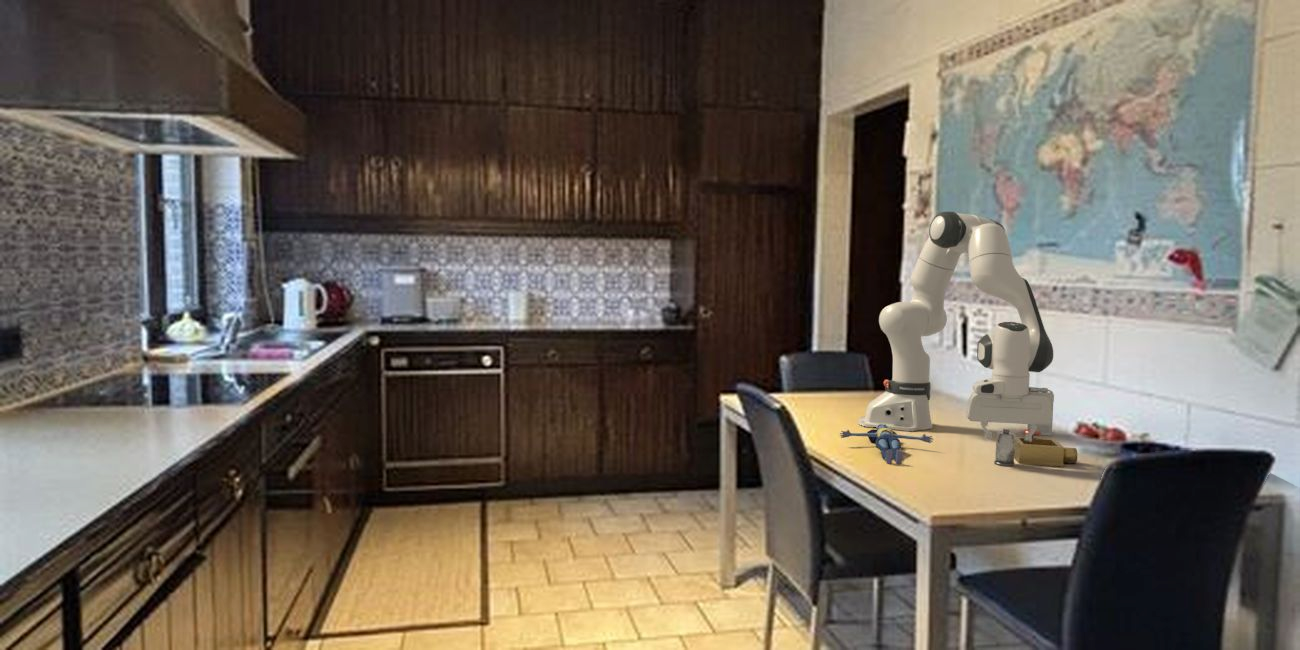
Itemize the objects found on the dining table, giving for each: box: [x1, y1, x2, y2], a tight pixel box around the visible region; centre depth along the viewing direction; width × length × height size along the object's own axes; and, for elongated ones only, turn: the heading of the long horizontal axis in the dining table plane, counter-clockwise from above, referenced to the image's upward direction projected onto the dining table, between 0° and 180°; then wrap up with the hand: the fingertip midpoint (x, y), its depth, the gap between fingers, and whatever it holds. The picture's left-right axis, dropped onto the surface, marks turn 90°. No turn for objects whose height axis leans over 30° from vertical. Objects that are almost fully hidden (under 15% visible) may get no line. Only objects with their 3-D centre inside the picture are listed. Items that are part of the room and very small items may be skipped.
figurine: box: [839, 424, 934, 465], centre depth 232 cm, size 22×26×5 cm
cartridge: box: [994, 428, 1016, 468], centre depth 219 cm, size 5×5×9 cm
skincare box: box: [1027, 403, 1054, 437], centre depth 260 cm, size 6×4×12 cm
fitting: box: [1014, 428, 1078, 468], centre depth 226 cm, size 14×15×6 cm
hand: (1007, 440), depth 219 cm, fingers open, 8 cm apart
